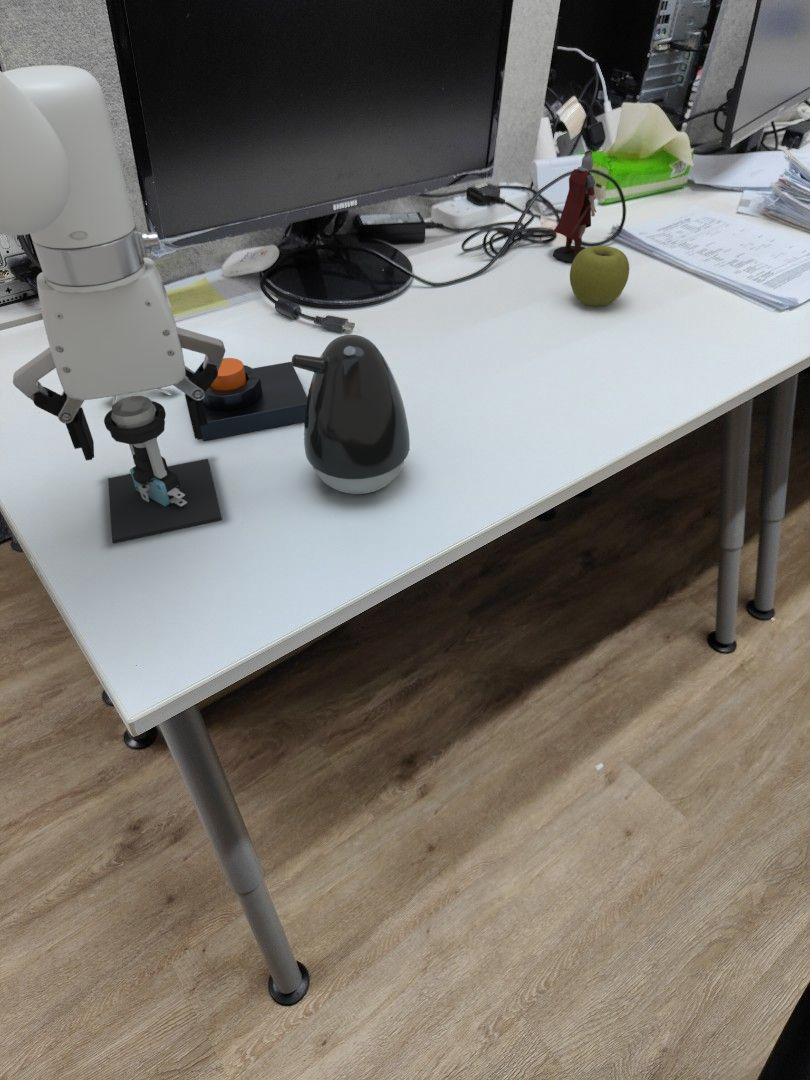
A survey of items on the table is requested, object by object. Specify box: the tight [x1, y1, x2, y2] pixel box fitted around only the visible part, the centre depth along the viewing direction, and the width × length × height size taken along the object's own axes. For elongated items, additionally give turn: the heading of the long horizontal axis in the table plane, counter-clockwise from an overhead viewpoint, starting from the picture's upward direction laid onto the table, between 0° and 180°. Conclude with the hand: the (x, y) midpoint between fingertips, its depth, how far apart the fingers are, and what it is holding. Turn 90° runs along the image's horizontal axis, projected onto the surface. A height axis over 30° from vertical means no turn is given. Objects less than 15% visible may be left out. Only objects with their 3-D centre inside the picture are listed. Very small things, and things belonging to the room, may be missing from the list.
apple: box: [569, 245, 630, 307], centre depth 104 cm, size 8×8×7 cm
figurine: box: [552, 150, 597, 264], centre depth 114 cm, size 7×7×15 cm
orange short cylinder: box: [210, 357, 246, 391], centre depth 84 cm, size 4×4×2 cm
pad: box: [107, 458, 223, 544], centre depth 75 cm, size 10×10×1 cm
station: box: [200, 361, 308, 441], centre depth 86 cm, size 12×10×4 cm
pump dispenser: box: [291, 334, 411, 495], centre depth 72 cm, size 10×10×15 cm
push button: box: [103, 395, 187, 506], centre depth 71 cm, size 7×5×10 cm
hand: (144, 441), depth 70 cm, fingers open, 9 cm apart
